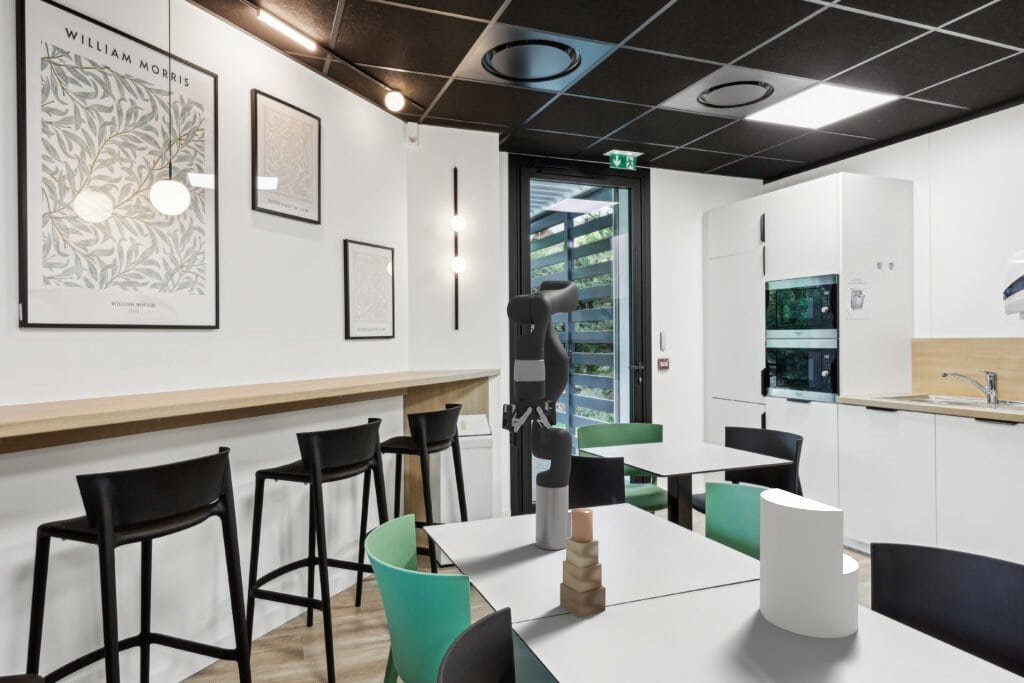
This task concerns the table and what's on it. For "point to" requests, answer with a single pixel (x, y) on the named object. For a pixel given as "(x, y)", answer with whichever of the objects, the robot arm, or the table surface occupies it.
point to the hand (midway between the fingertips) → (529, 445)
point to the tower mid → (582, 577)
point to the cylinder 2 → (806, 567)
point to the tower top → (582, 552)
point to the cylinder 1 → (582, 525)
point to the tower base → (582, 600)
